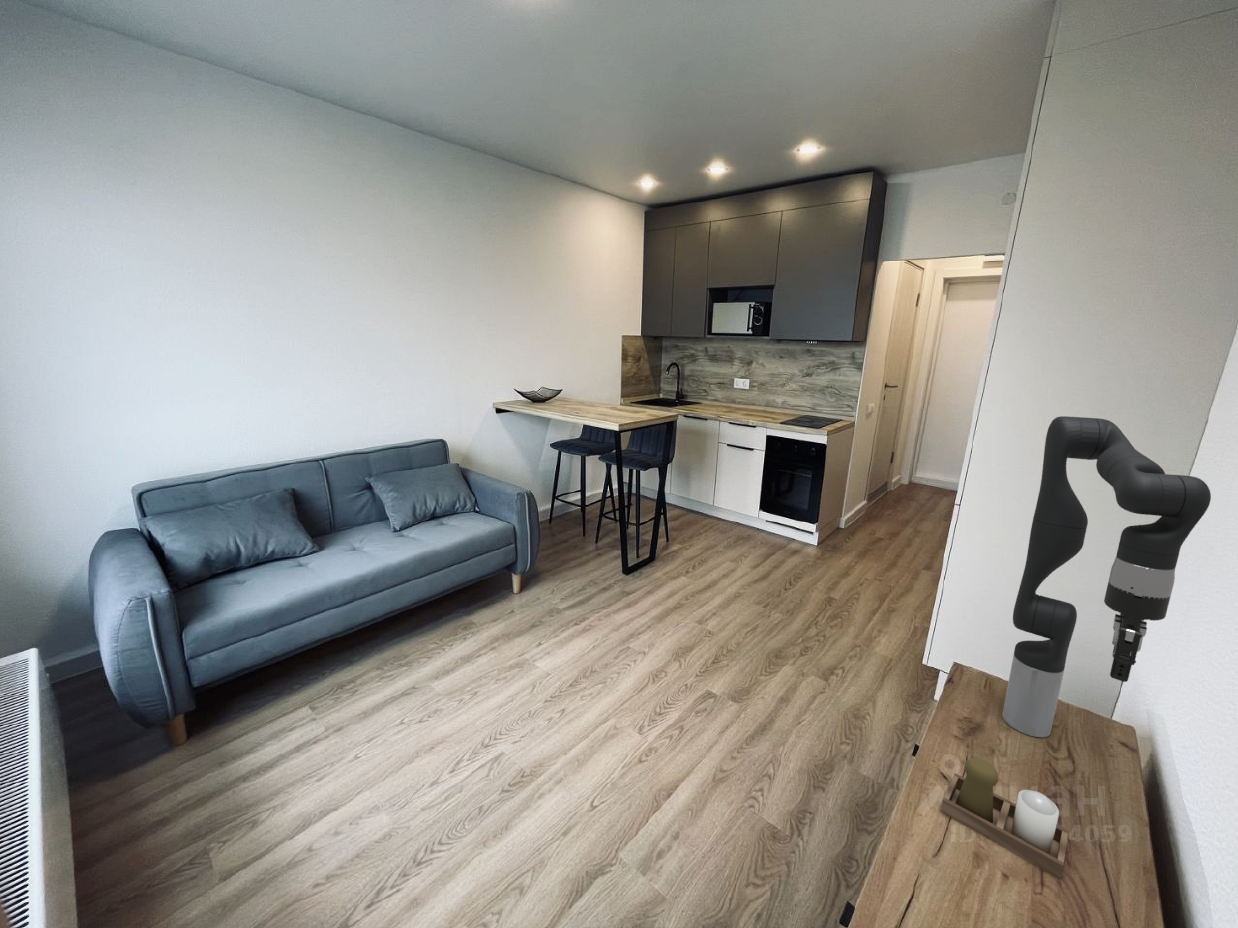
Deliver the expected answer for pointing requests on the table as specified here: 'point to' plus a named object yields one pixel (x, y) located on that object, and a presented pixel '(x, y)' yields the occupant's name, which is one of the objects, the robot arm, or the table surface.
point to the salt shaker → (1035, 820)
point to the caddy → (1006, 829)
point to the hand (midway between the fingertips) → (1119, 668)
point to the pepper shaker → (978, 788)
